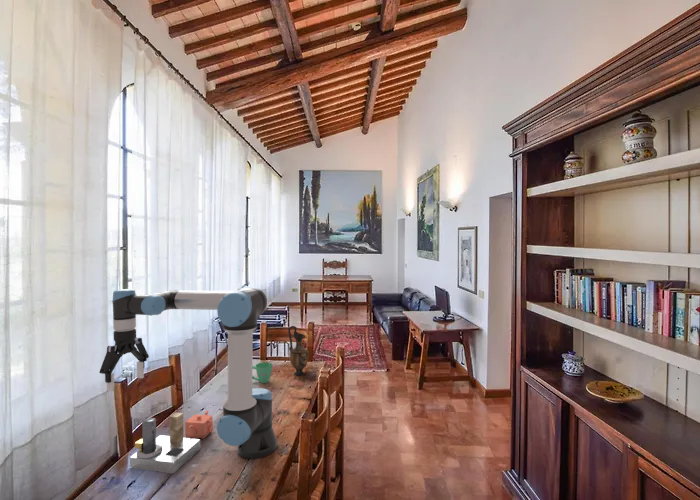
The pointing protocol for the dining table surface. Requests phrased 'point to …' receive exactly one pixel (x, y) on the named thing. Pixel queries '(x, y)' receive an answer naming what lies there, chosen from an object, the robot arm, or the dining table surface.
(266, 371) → the mug
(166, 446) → the white base plate
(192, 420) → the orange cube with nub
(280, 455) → the dining table surface
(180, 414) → the tan wooden block
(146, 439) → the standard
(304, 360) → the vase
